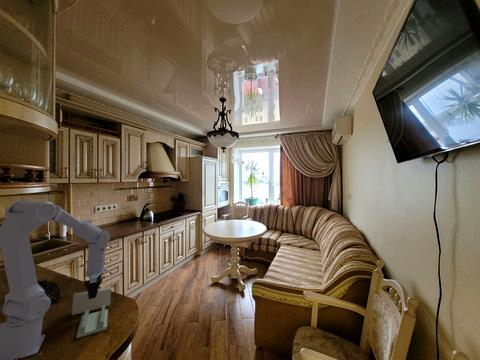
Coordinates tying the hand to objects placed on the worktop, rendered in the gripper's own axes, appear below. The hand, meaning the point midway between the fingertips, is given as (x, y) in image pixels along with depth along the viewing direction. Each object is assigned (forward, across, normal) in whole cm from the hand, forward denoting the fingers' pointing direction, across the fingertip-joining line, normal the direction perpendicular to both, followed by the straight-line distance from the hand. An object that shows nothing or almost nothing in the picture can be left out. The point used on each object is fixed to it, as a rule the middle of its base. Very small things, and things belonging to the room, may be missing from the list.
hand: (93, 293), depth 77 cm
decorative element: (+6, +21, +18) cm, 29 cm away
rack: (+6, -11, -1) cm, 13 cm away
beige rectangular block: (+6, 0, 0) cm, 6 cm away
